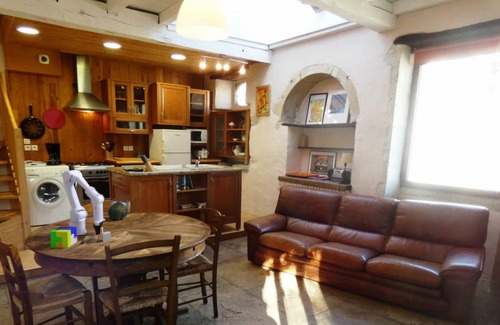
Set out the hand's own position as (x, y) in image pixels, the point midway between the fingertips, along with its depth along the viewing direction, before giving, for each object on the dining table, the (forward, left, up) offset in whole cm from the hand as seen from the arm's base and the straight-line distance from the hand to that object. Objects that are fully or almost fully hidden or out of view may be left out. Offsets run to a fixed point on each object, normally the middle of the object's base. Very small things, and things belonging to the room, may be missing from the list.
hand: (98, 232), depth 202 cm
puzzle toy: (-18, -13, -2) cm, 22 cm away
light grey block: (+6, -12, -2) cm, 14 cm away
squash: (+9, +40, -2) cm, 41 cm away
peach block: (0, 0, -2) cm, 2 cm away
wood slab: (-3, -11, -2) cm, 12 cm away
